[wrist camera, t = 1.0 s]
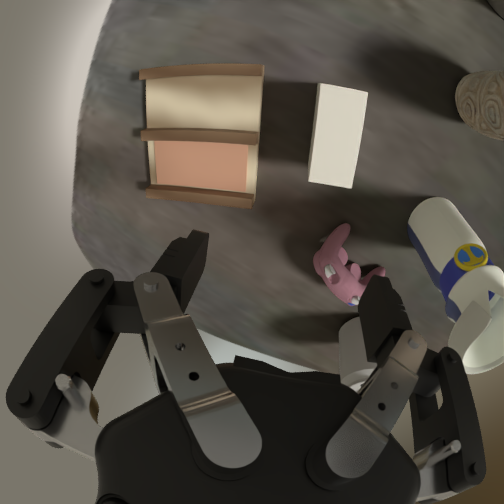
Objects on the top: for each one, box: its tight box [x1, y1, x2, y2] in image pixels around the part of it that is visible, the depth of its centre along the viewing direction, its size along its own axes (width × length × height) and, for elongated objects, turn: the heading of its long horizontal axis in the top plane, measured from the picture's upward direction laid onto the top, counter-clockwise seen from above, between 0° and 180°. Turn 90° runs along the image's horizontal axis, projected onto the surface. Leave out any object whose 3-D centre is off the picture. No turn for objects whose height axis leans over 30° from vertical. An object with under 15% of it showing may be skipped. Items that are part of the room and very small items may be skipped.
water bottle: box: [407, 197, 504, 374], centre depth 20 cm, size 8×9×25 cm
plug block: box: [308, 83, 368, 188], centre depth 24 cm, size 9×4×6 cm, turn 177°
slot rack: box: [139, 64, 264, 209], centre depth 28 cm, size 16×13×2 cm
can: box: [339, 317, 377, 392], centre depth 37 cm, size 8×8×12 cm
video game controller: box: [313, 223, 385, 306], centre depth 33 cm, size 10×5×7 cm, turn 47°
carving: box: [455, 71, 504, 141], centre depth 15 cm, size 6×8×12 cm
